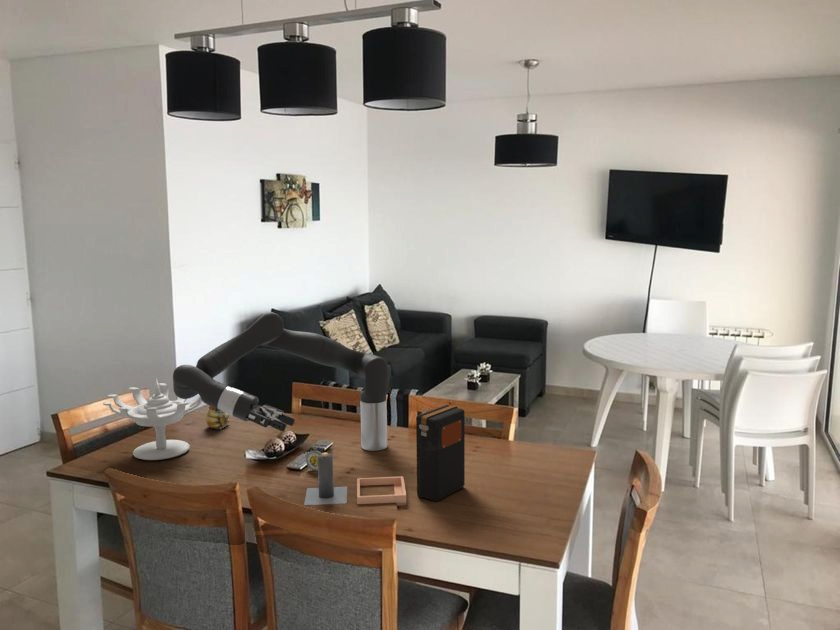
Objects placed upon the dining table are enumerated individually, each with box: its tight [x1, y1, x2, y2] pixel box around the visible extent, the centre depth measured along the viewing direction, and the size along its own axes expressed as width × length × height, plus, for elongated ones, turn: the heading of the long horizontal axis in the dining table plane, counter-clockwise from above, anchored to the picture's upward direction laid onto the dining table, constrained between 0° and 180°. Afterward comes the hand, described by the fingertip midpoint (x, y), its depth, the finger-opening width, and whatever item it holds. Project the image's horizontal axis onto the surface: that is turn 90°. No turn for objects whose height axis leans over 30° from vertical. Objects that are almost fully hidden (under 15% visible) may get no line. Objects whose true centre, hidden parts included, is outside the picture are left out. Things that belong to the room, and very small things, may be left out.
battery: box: [317, 452, 335, 499], centre depth 198 cm, size 4×4×13 cm
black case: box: [415, 404, 466, 502], centre depth 201 cm, size 16×9×25 cm, turn 141°
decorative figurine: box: [205, 405, 231, 430], centre depth 266 cm, size 10×8×15 cm
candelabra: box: [102, 377, 203, 461], centre depth 237 cm, size 34×35×27 cm
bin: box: [356, 475, 407, 506], centre depth 200 cm, size 14×14×3 cm
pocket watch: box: [300, 442, 323, 480], centre depth 216 cm, size 8×8×10 cm
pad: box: [303, 486, 348, 506], centre depth 199 cm, size 12×12×1 cm
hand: (289, 425), depth 193 cm, fingers open, 8 cm apart
